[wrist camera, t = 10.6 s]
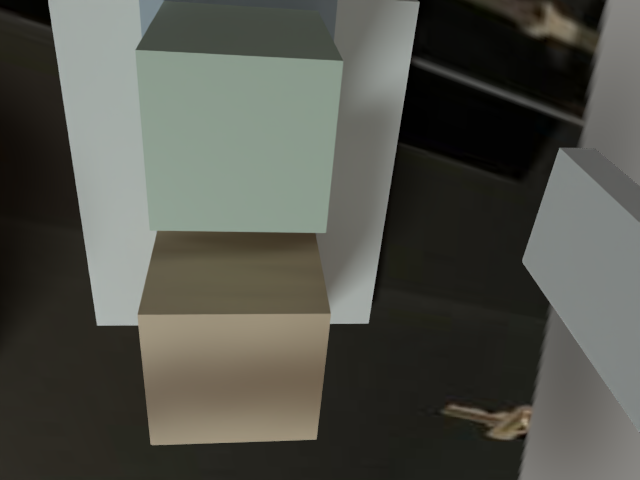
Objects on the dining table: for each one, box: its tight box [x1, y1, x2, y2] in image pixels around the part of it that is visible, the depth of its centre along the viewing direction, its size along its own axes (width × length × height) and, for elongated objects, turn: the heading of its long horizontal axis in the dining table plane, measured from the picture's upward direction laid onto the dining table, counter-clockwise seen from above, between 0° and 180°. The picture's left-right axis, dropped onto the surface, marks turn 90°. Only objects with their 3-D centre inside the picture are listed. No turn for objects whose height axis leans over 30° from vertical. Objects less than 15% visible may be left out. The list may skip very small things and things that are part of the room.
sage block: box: [135, 1, 343, 233], centre depth 18 cm, size 5×5×6 cm
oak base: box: [137, 231, 331, 445], centre depth 23 cm, size 6×6×6 cm
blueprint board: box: [48, 0, 420, 325], centre depth 23 cm, size 15×12×1 cm
